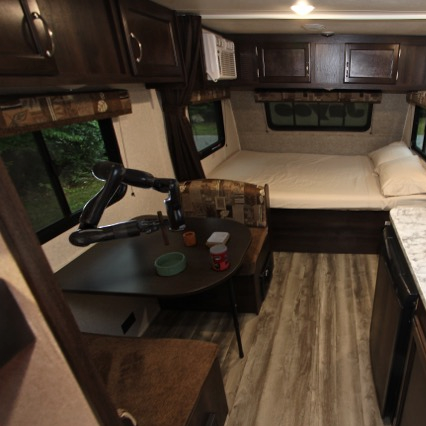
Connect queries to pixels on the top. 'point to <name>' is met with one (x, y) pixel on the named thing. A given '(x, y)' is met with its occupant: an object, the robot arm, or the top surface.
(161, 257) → the bowl
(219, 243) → the soap dish
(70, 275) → the top surface
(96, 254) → the top surface
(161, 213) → the stick
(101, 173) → the robot arm
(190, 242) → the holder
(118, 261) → the top surface
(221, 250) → the canned food
